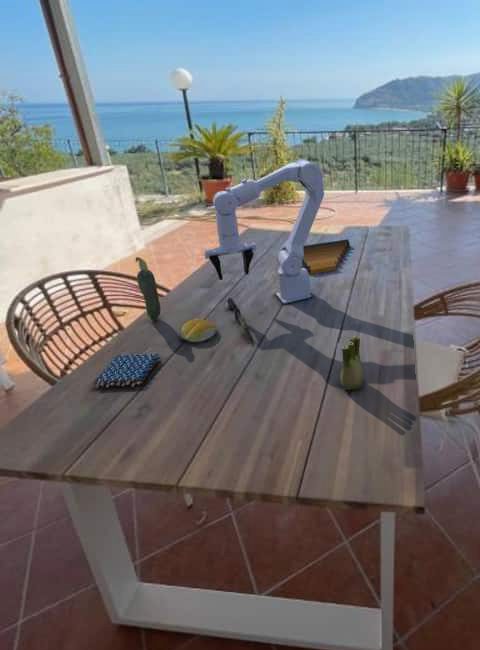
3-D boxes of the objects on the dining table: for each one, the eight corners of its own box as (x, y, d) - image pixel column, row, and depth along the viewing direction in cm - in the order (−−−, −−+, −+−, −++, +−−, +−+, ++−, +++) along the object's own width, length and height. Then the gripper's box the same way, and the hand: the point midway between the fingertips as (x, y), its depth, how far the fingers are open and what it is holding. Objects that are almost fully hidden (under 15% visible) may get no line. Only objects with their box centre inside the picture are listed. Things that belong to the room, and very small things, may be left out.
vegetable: (166, 318, 114) (153, 255, 107) (155, 326, 110) (140, 261, 103) (155, 316, 115) (141, 253, 108) (143, 323, 112) (128, 259, 104)
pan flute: (346, 245, 175) (292, 253, 165) (346, 238, 173) (291, 246, 163) (371, 264, 153) (310, 275, 144) (371, 256, 152) (310, 266, 142)
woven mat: (117, 360, 96) (115, 353, 95) (161, 358, 96) (160, 351, 95) (93, 388, 86) (90, 381, 85) (142, 386, 86) (140, 379, 86)
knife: (254, 350, 103) (253, 335, 101) (248, 352, 103) (247, 337, 100) (233, 305, 121) (231, 292, 119) (228, 306, 120) (226, 293, 118)
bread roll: (201, 323, 112) (199, 311, 110) (221, 332, 107) (219, 320, 106) (174, 336, 105) (172, 323, 104) (195, 347, 101) (192, 333, 99)
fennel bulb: (344, 396, 84) (344, 349, 79) (335, 383, 88) (333, 337, 83) (368, 387, 86) (368, 341, 82) (357, 375, 90) (357, 330, 86)
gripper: (204, 241, 106) (211, 286, 111) (257, 233, 113) (261, 275, 118) (200, 234, 112) (206, 277, 116) (250, 227, 118) (254, 267, 123)
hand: (233, 276), depth 117 cm, fingers open, 7 cm apart
